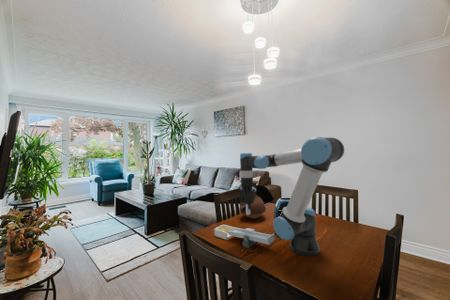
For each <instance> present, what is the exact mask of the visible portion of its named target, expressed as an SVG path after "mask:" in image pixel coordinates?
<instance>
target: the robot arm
mask: <svg viewBox="0 0 450 300" xmlns="http://www.w3.org/2000/svg"><path fill="white" fill-rule="evenodd" d="M344 154H345V146H344V144H343V142H342V141H340V140H339V139H338V138H335V137H322V136H316V137H311V138H310V139H309V138H308V140H306V141H305V142H304V143H303V145H302V147H301V148H299V149H298V148H297V149H294V150H289V151H283V152H279V153H274V154H267V155H266V154H265V155H253V153H252V152H242V153H240V156H239V160H240V162H239V163H240V177H241V178H240V183H241V185H240V186H238V188H237V189H238V191H239V194H240V200H241V202H243V203H244V204H245V209H246V215H249V214H250V209H251V204H252V203H254V198H255V192H256V193H257V190H258V189H257V188H256V189H255V188H254V187H253V181H254V178H253V177H254V176H253V169H259V170H263V169H267V168H274V167H275V168H276V167H278V166H279V167H281V166H288V165H293V164H302V168H301V170H300V172H299V176H298V179H297V180H296V183H295V186H294V187H293V191H292V193H291V195H290V198H289V201H288V203H287V206H284V207H283V208H282V210H281V211H282V212H281V214H280V216H278V217H277V216H276V217H275V218H274V219H273V222H272V227H273V229H274V232H275V234H276V235H277V236H278V238H280V239H282V240H284V241H289V240H290V244H289V247H290V250H291V251H292V252H294V253H295V254H297V255H301V256H306V257H314V256H316V255H318V254H319V253H320V245H319V242H318V239H317V236H316V211H315V210H314V209H313V208H310V207H309V204H310V201H311V199H312V197H313V195H314V193H315V190H316V188H317V186H318V183H319V182H320V179H321V177H322V175H323V174H324V173H327V172H328V170H329V168H330V166H331V164H332V163H336V162H338V161H339V160H341V159H342V158H343V156H344ZM251 190H252V194H251Z"/></svg>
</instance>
